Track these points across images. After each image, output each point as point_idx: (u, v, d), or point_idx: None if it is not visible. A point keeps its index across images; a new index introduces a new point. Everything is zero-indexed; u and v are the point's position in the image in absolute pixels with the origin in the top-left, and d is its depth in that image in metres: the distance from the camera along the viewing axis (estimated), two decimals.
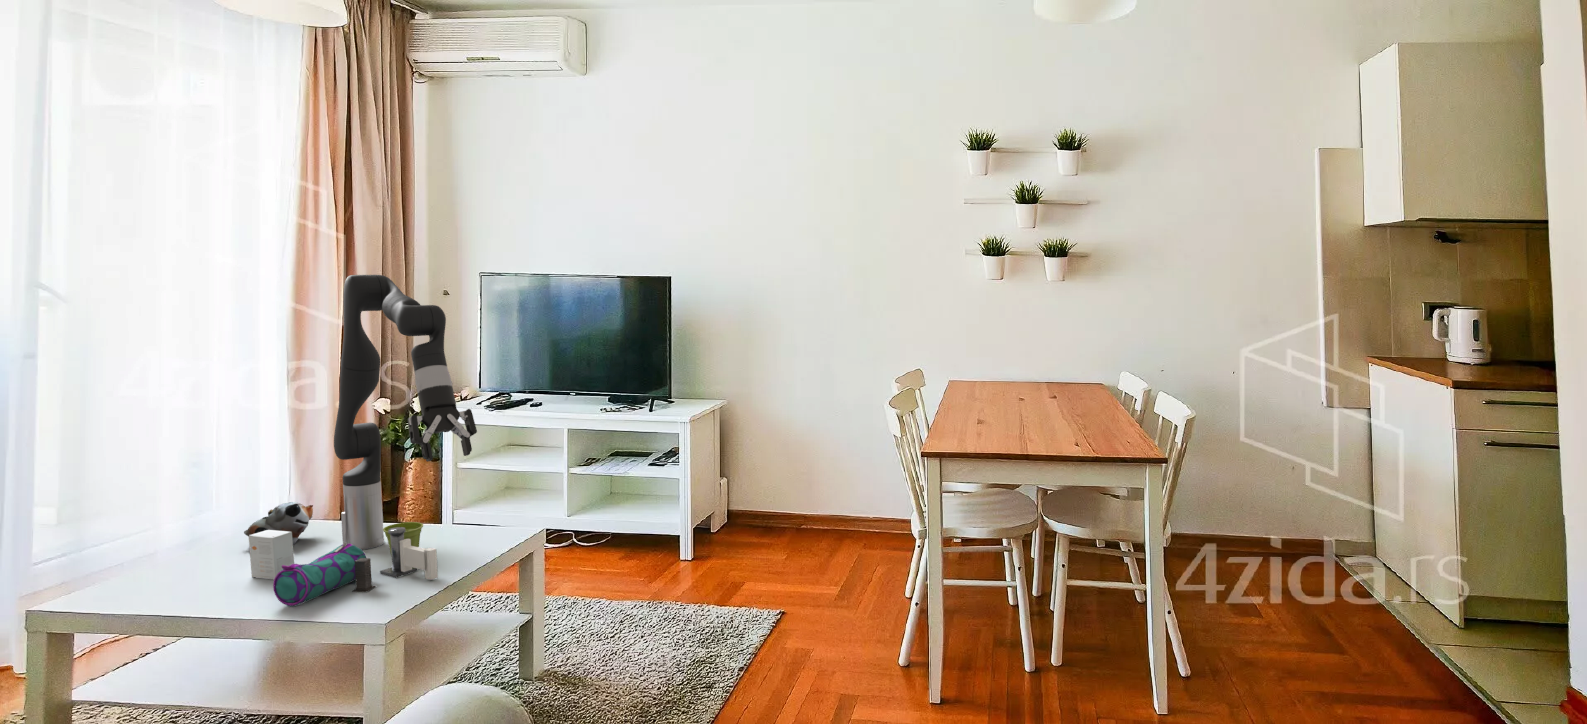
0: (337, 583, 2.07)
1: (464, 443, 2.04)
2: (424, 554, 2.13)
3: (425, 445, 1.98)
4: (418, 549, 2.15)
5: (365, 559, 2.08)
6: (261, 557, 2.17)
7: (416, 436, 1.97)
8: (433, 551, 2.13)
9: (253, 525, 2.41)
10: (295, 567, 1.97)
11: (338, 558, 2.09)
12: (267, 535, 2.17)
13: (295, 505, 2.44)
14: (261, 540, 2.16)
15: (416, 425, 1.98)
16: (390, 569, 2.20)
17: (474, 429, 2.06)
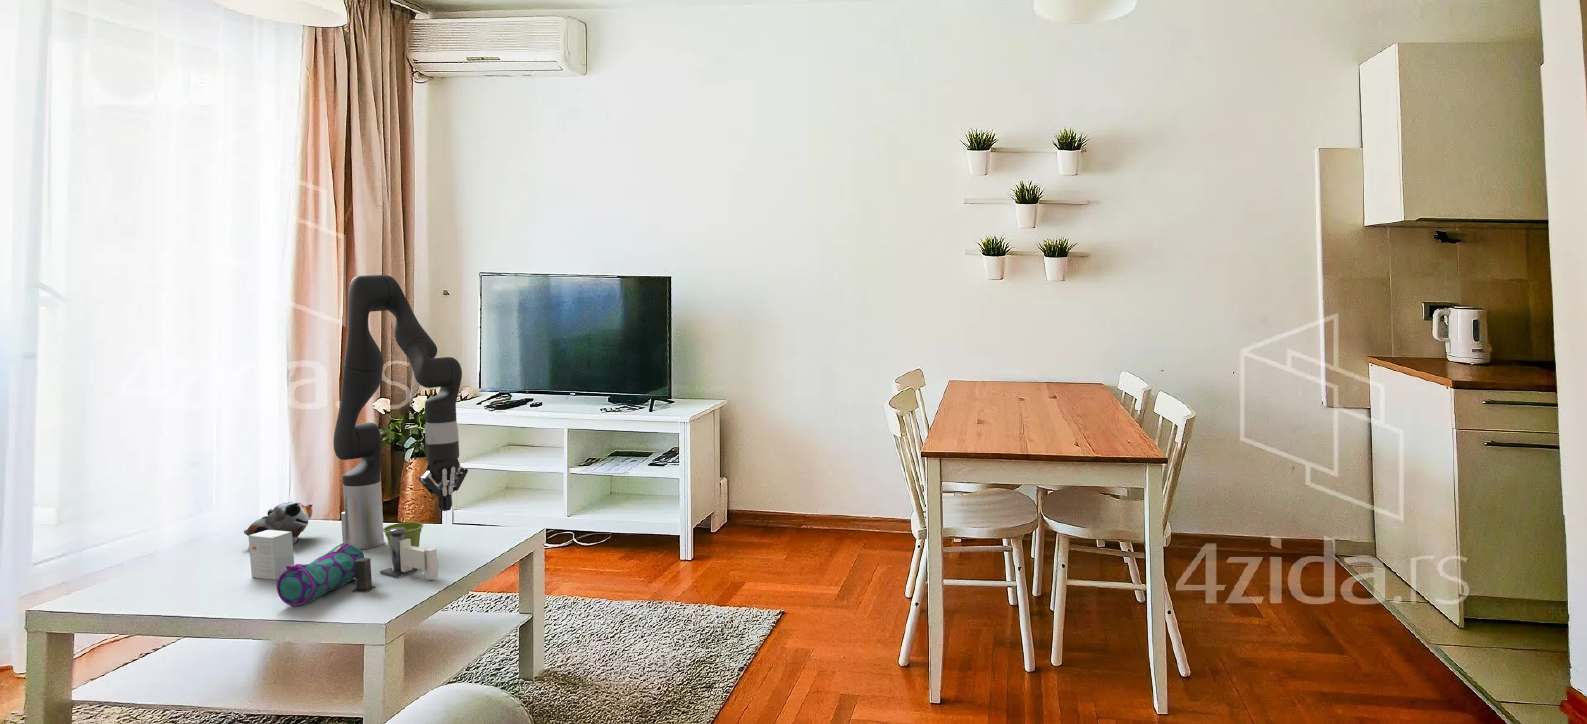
0: (339, 582, 2.07)
1: None
2: (424, 554, 2.13)
3: (443, 497, 2.18)
4: (418, 549, 2.15)
5: (365, 559, 2.08)
6: (261, 557, 2.17)
7: (437, 491, 2.16)
8: (433, 551, 2.13)
9: (253, 525, 2.42)
10: (299, 567, 1.97)
11: (339, 558, 2.09)
12: (267, 535, 2.17)
13: (295, 504, 2.45)
14: (261, 540, 2.16)
15: (432, 483, 2.15)
16: (390, 569, 2.20)
17: (457, 486, 2.21)
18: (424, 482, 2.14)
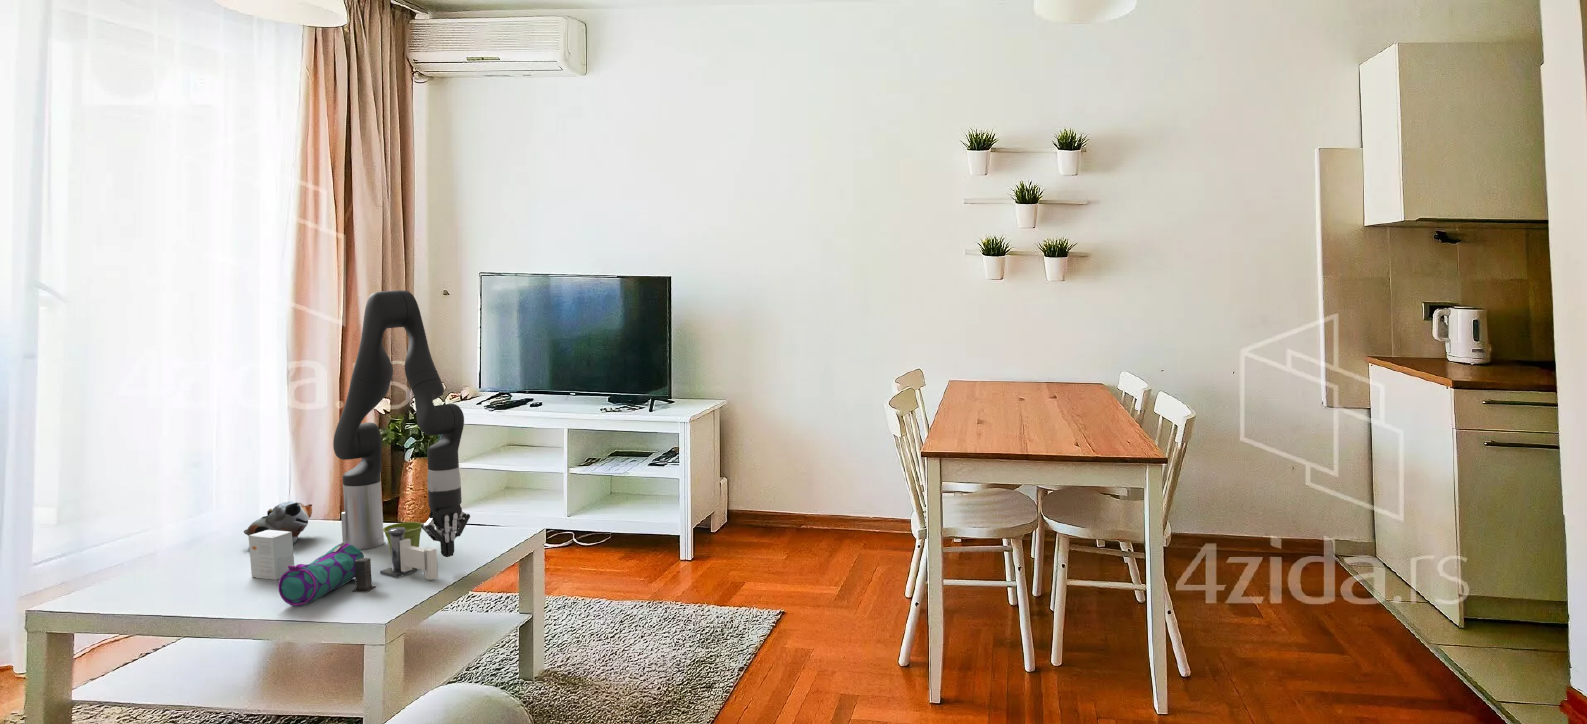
0: (340, 582, 2.07)
1: None
2: (424, 554, 2.13)
3: (445, 544, 2.19)
4: (418, 549, 2.15)
5: (365, 559, 2.08)
6: (262, 557, 2.17)
7: (439, 538, 2.17)
8: (433, 551, 2.13)
9: (253, 524, 2.42)
10: (301, 567, 1.97)
11: (339, 557, 2.09)
12: (267, 535, 2.17)
13: (295, 504, 2.45)
14: (261, 540, 2.16)
15: (434, 530, 2.16)
16: (390, 569, 2.20)
17: (459, 532, 2.22)
18: (426, 529, 2.15)
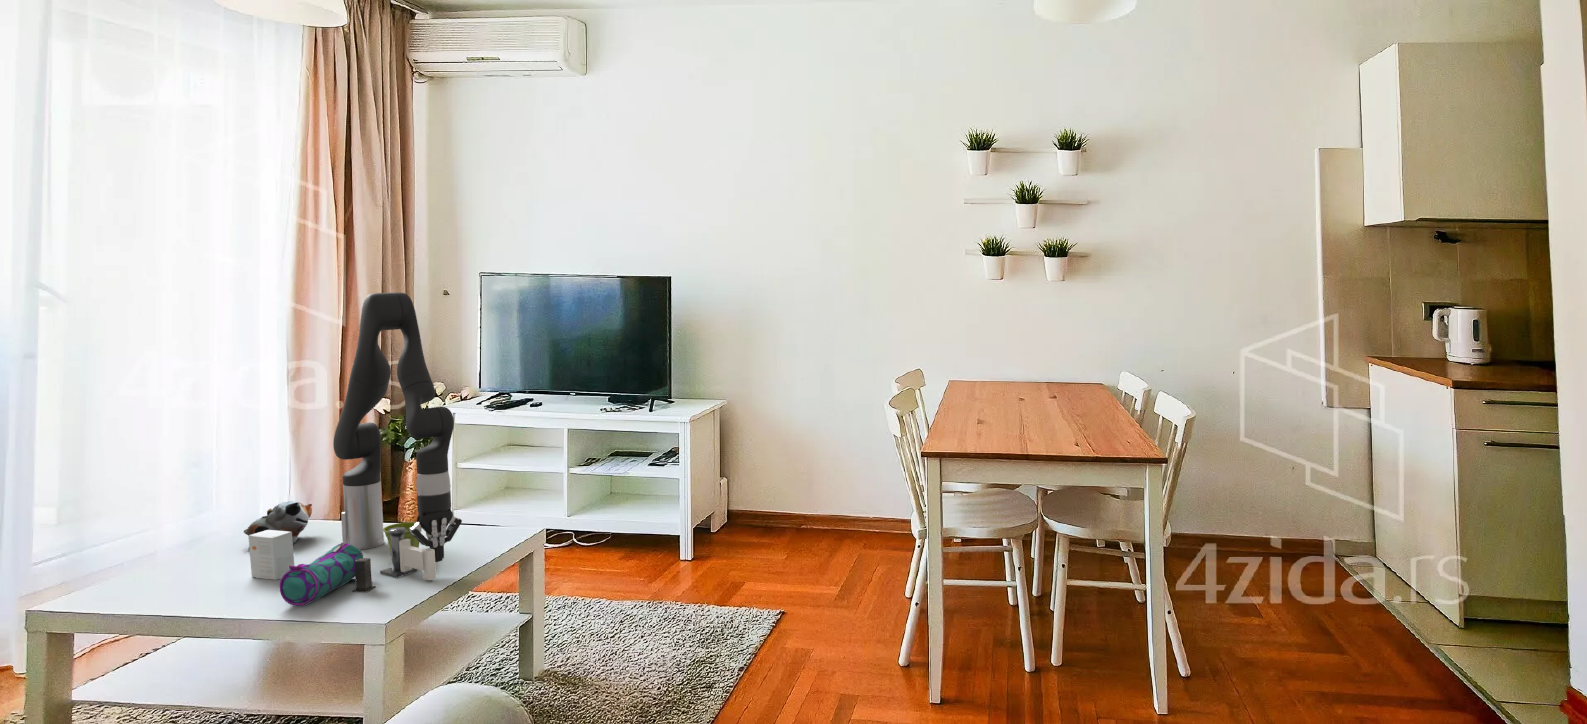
0: (340, 582, 2.07)
1: None
2: (423, 554, 2.13)
3: (434, 548, 2.16)
4: (417, 549, 2.15)
5: (365, 559, 2.08)
6: (261, 557, 2.17)
7: (426, 543, 2.14)
8: (431, 552, 2.13)
9: (253, 524, 2.42)
10: (303, 567, 1.97)
11: (339, 557, 2.09)
12: (267, 535, 2.17)
13: (295, 504, 2.46)
14: (261, 540, 2.16)
15: (421, 535, 2.13)
16: (390, 569, 2.20)
17: (449, 537, 2.18)
18: (413, 533, 2.12)
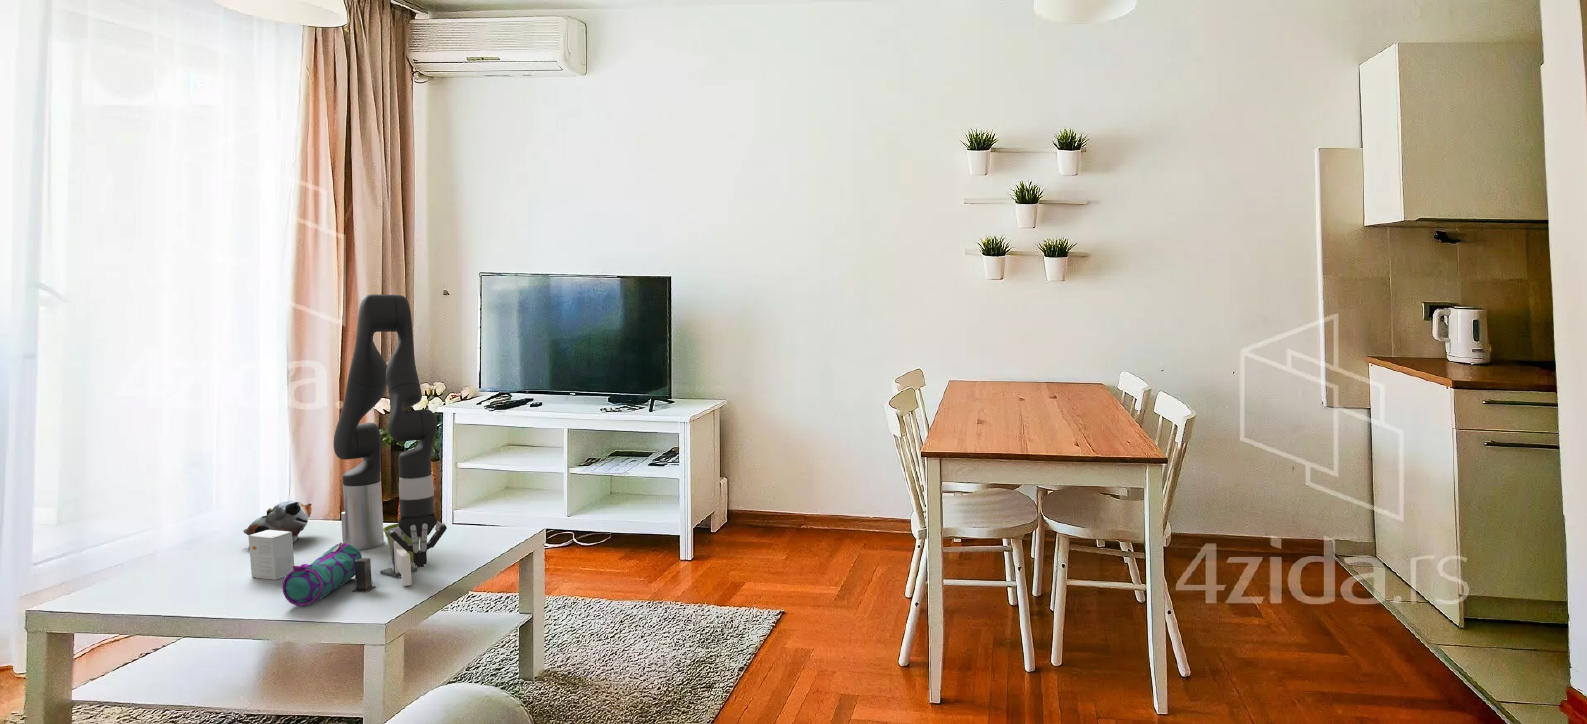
0: (341, 582, 2.07)
1: None
2: (400, 559, 2.10)
3: (415, 554, 2.12)
4: (401, 553, 2.13)
5: (365, 559, 2.08)
6: (261, 557, 2.17)
7: (406, 547, 2.10)
8: (406, 557, 2.09)
9: (253, 524, 2.42)
10: (306, 567, 1.97)
11: (339, 557, 2.09)
12: (267, 535, 2.17)
13: (295, 503, 2.46)
14: (261, 540, 2.16)
15: (399, 539, 2.10)
16: (390, 569, 2.20)
17: (432, 543, 2.13)
18: (392, 537, 2.10)
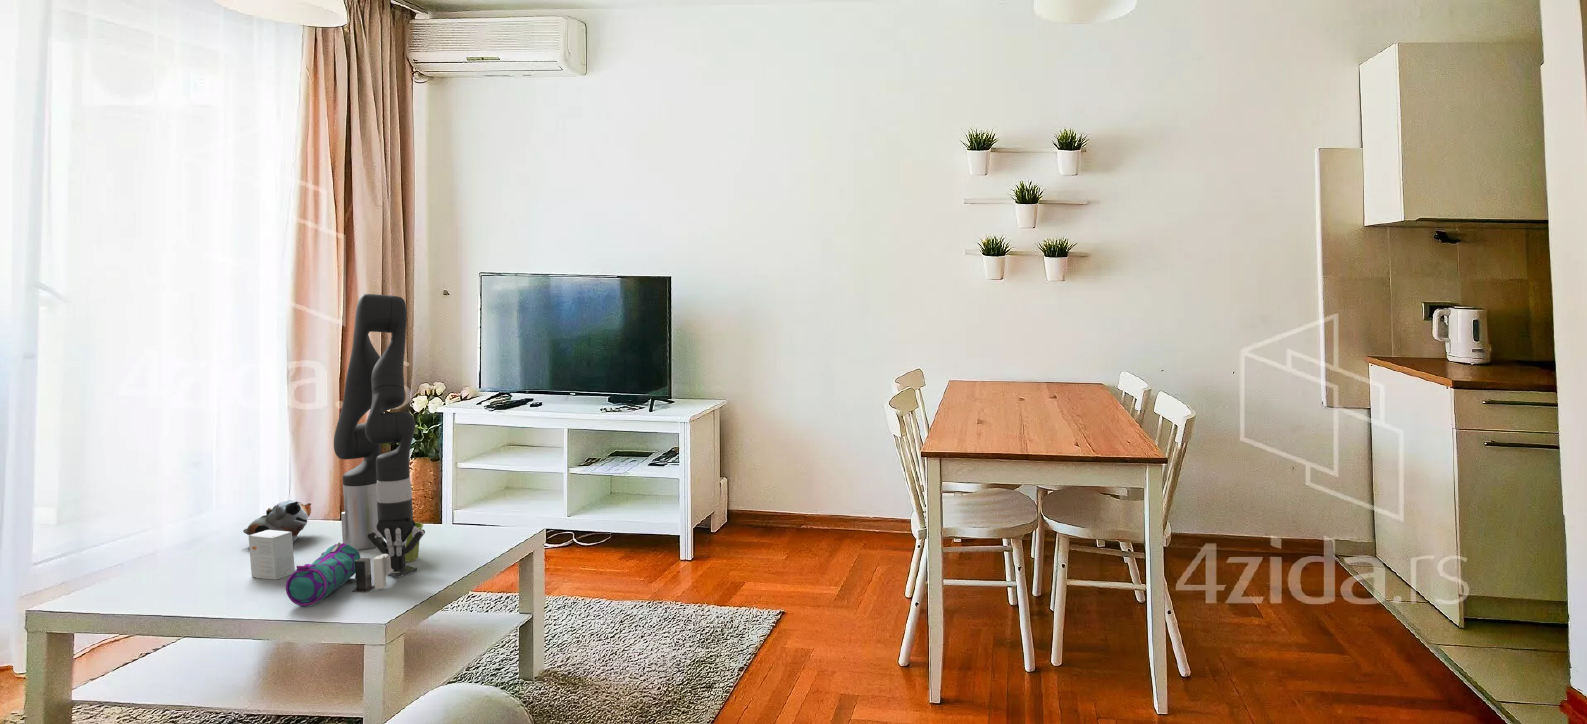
0: (342, 581, 2.08)
1: None
2: None
3: (392, 557, 2.09)
4: (383, 554, 2.12)
5: (365, 559, 2.08)
6: (262, 557, 2.17)
7: (382, 550, 2.09)
8: (377, 560, 2.07)
9: (253, 524, 2.43)
10: (310, 567, 1.97)
11: (339, 557, 2.10)
12: (267, 535, 2.17)
13: (295, 503, 2.47)
14: (261, 540, 2.16)
15: (376, 541, 2.08)
16: None
17: (406, 549, 2.09)
18: None
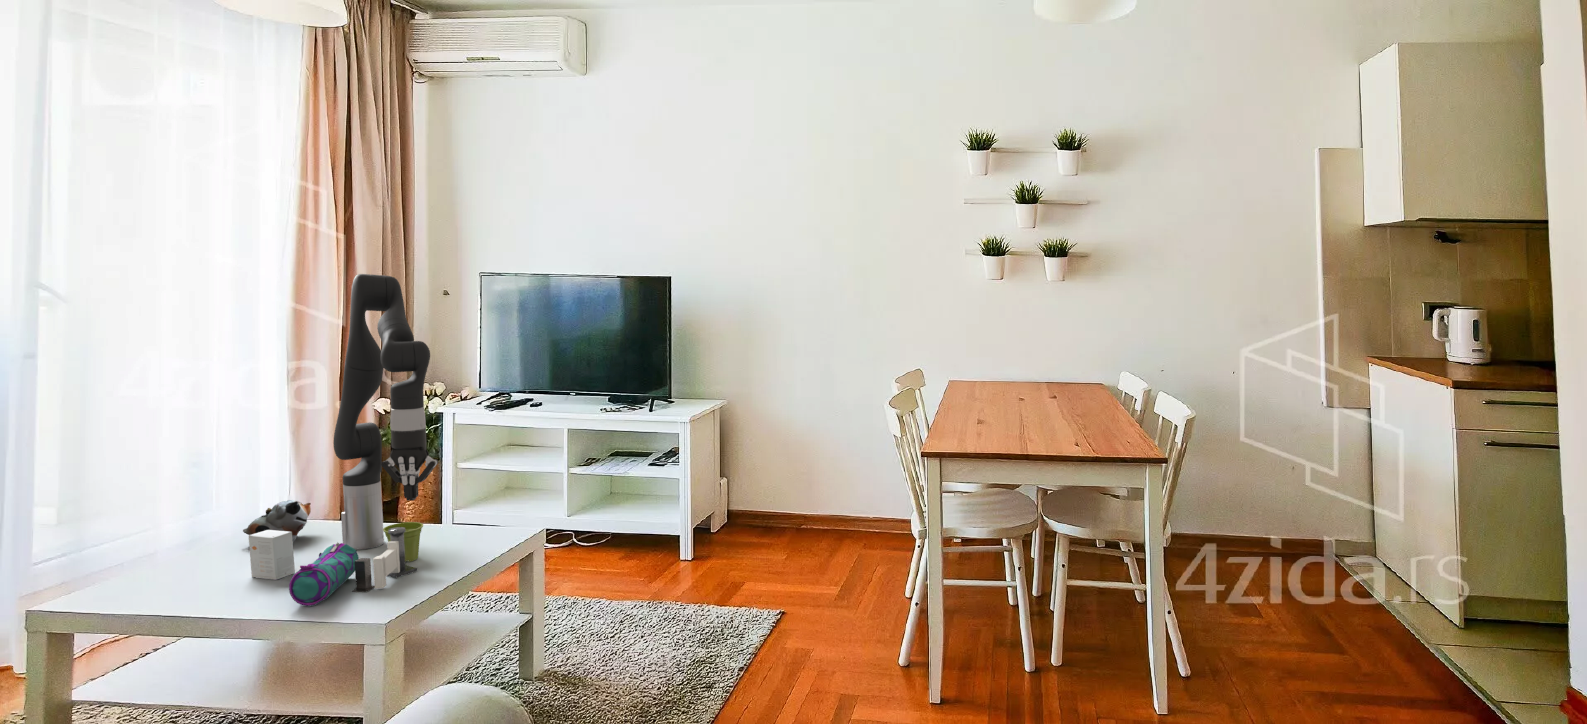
0: (343, 581, 2.08)
1: None
2: None
3: (405, 486, 2.10)
4: (383, 554, 2.12)
5: (365, 559, 2.08)
6: (262, 557, 2.17)
7: (395, 478, 2.10)
8: (377, 560, 2.07)
9: (253, 523, 2.43)
10: (313, 566, 1.98)
11: (339, 557, 2.10)
12: (267, 535, 2.17)
13: (295, 503, 2.47)
14: (261, 540, 2.16)
15: (389, 469, 2.09)
16: None
17: (420, 478, 2.10)
18: None
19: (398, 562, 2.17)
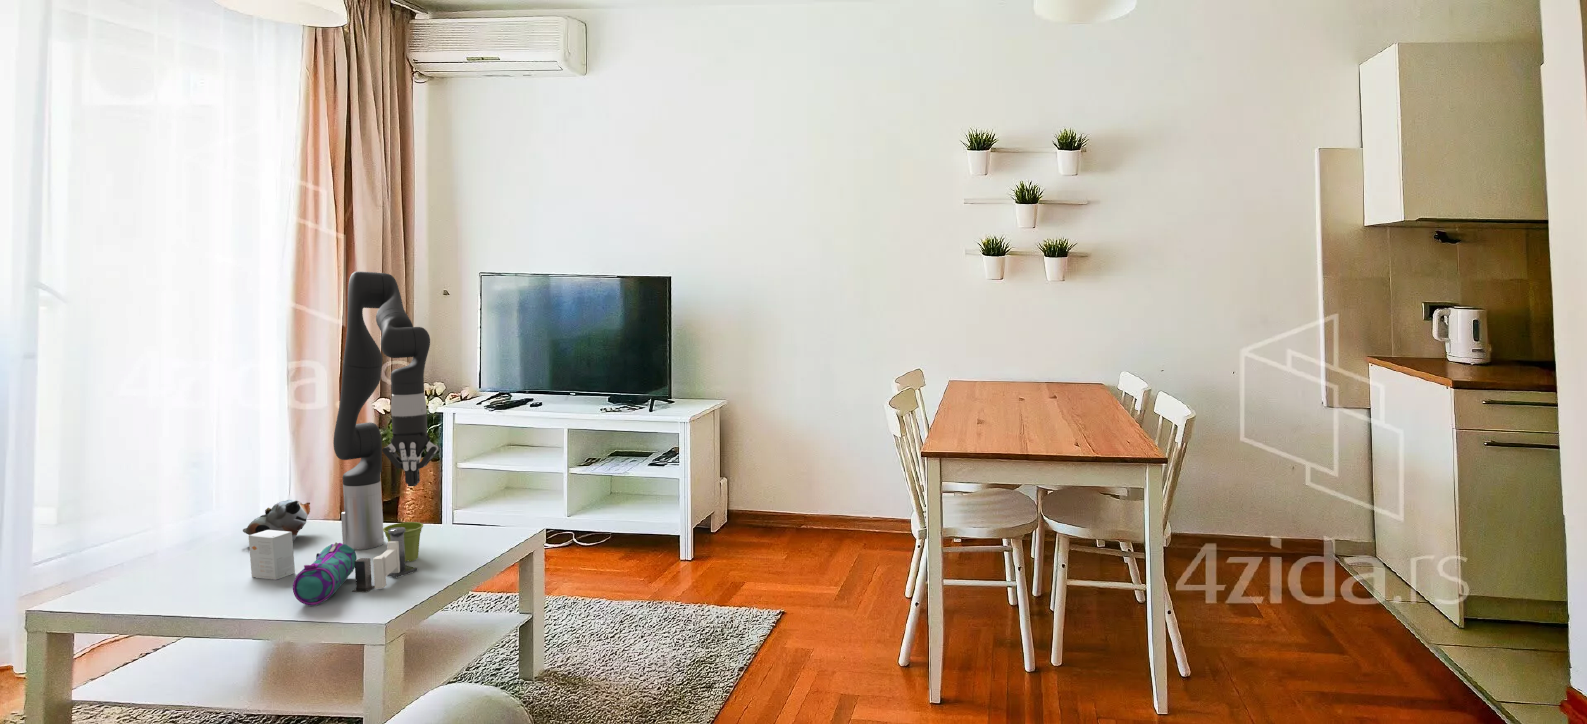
0: (344, 580, 2.08)
1: None
2: None
3: (406, 472, 2.11)
4: (383, 554, 2.12)
5: (365, 559, 2.08)
6: (262, 557, 2.17)
7: (396, 464, 2.10)
8: (377, 560, 2.07)
9: (253, 523, 2.43)
10: (317, 566, 1.98)
11: (339, 557, 2.10)
12: (267, 535, 2.17)
13: (295, 502, 2.47)
14: (261, 540, 2.16)
15: (390, 455, 2.10)
16: None
17: (421, 463, 2.10)
18: None
19: (398, 562, 2.17)
